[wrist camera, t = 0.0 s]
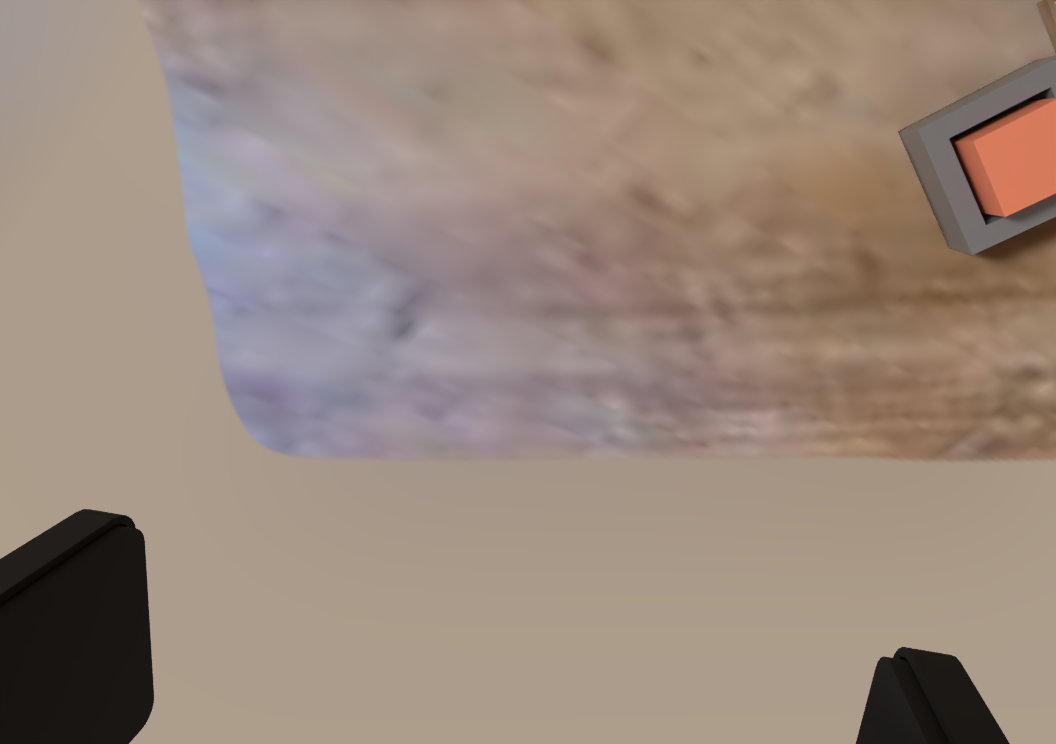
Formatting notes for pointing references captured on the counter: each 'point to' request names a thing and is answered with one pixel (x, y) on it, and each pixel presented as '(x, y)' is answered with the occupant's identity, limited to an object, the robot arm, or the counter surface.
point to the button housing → (943, 169)
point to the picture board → (1049, 18)
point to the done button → (1011, 158)
